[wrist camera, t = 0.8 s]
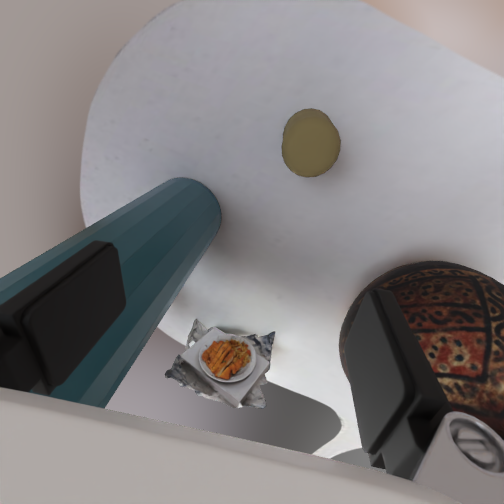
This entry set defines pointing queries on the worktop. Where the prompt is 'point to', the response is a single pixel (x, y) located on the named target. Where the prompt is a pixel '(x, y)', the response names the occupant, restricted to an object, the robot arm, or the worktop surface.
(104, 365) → the teal faceted tube
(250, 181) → the worktop surface
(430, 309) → the ceramic vessel
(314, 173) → the cork
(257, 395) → the meal
